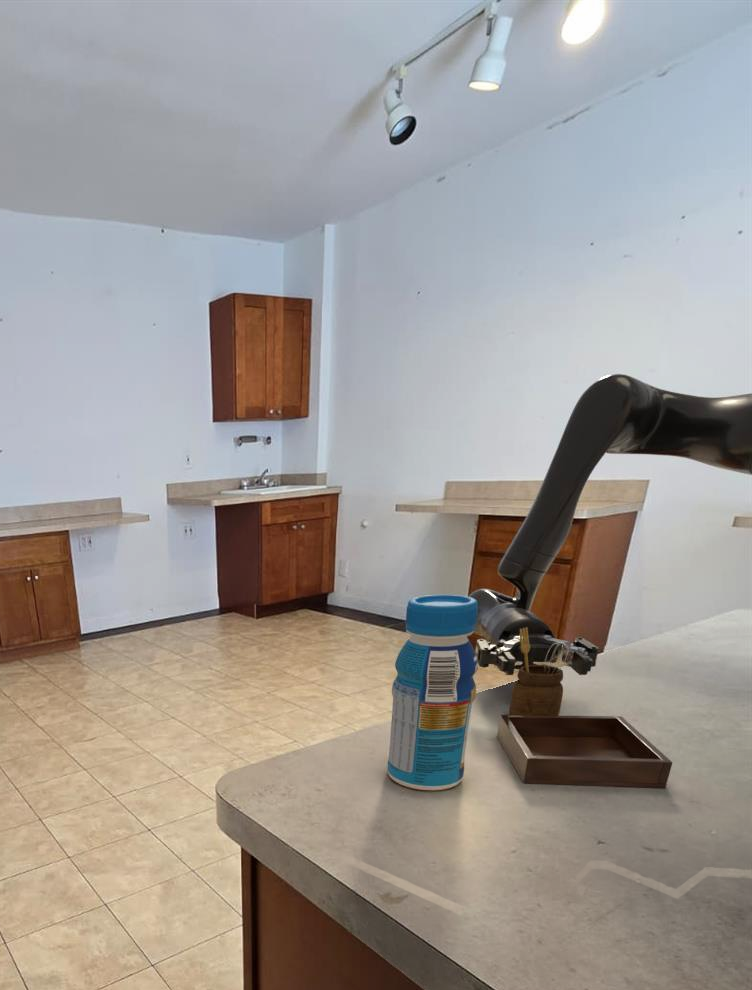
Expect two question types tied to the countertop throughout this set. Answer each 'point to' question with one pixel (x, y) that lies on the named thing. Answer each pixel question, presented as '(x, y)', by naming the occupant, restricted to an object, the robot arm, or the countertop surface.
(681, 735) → the countertop surface
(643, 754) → the tray box
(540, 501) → the robot arm
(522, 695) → the utensil holder
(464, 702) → the beverage bottle
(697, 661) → the countertop surface
